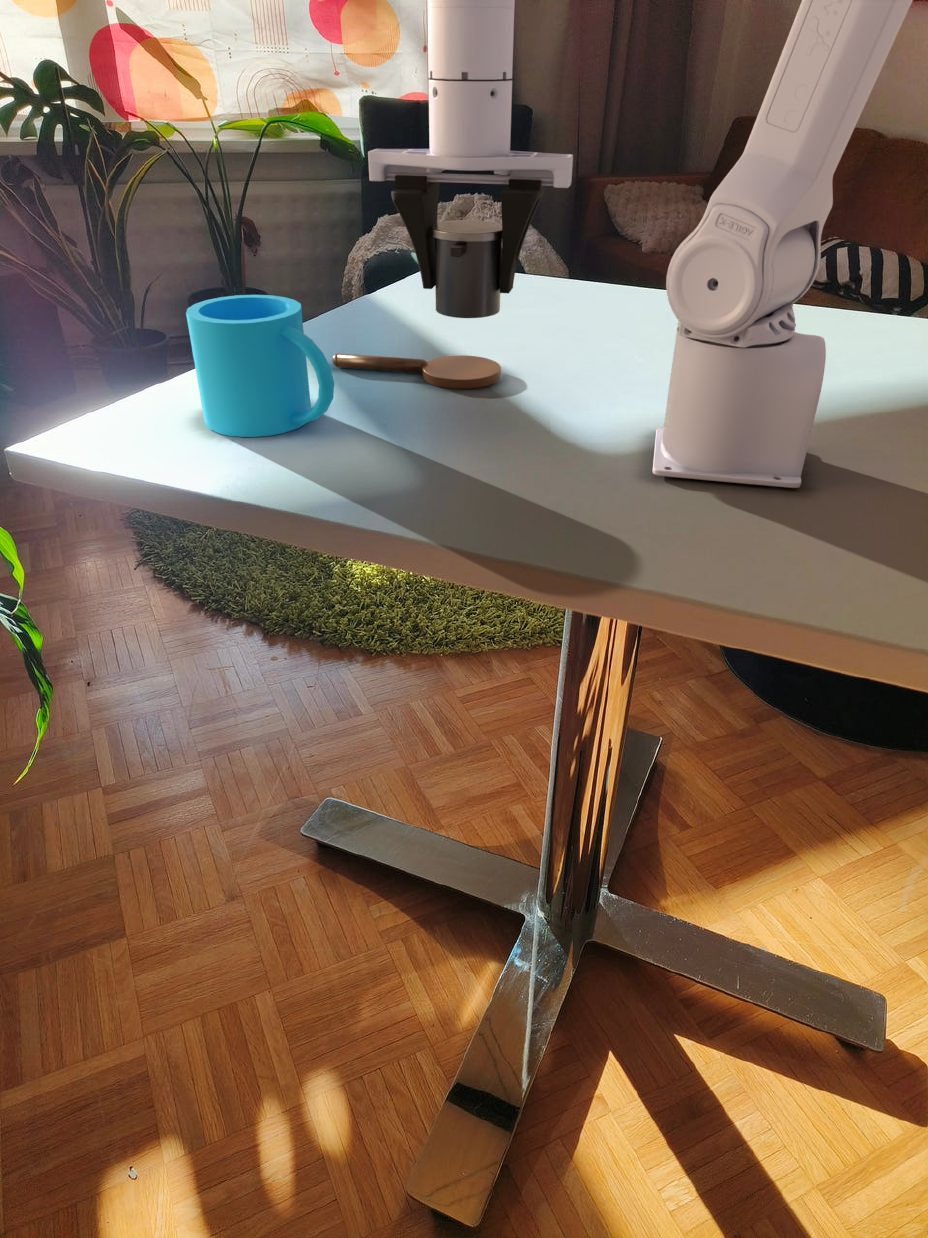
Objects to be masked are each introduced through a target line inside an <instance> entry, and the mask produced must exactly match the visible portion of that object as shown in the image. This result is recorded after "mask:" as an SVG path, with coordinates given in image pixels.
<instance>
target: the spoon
mask: <svg viewBox="0 0 928 1238" xmlns="http://www.w3.org/2000/svg"><path fill="white" fill-rule="evenodd" d="M332 364H333V365H334V366H335V367H336V368H340V369H341V368H342V369H355V370H369V371H381V372H397V373H409V374H422V378H423V380H424V381H425V382H426V383H428V384H431V385H433V386H436V387H440V388H446V389H454V390H459V389H460V390H466V389H467V390H469V389H478V388H484V387H487V386H491V385H493V384H495V383H497V382H499V380H500V379H501V377H502V367H501V365H500V364H499V363H498V362H497V361H496V360H493V359H490V358H487V357H483V356H476V355H466V354H465V355H463V354H462V355H448V356H440V357H437V358H433V359H430V360H428V361H427V360H425V359H423V358H409V357H395V356H382V355H367V354H353V353H341V352H340V353H336V354H334V355H333V356H332Z"/></svg>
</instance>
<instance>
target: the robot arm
mask: <svg viewBox="0 0 928 1238" xmlns="http://www.w3.org/2000/svg"><path fill="white" fill-rule="evenodd" d="M913 1H914V0H801V2H800V4H799V7H798V9H797V11H796V15H795V18H794V20H793V23H792V25H791V28H790V31H789V32H788V33H789V34H788V36H787V38H786V42H785V43H784V46H783V48H782V51H781V54H780V56H779V59H778V62H777V64H776V67H775V69H774V72H773V74H772V77H771V80H770V83H769V85H768V88H767V90H766V93H765V95H764V98H763V100H762V102H761V103H762V104H761V106H760V109H759V111H758V114H757V116H756V119H755V121H754V124H753V127H752V129H751V132H750V134H749V138H748V139H747V142H746V145H745V147H744V150H743V153H741V156H740V157H739V158H738V160H737V161H736V162H735V164H734V165H733V167H732V168H731V169H730V171H729V172H728V173H727V174H726V176H724V178H723V179H722V180H721V182H720V183H719V185H717V187H716V189H715V190H714V191H713V192H712V194H711V196H710V198H709V201H708V203H707V205H706V208H705V212H704V213H703V216H702V218H701V220H700V221H699V222H698V225H697V226H696V227H695V229H693V231H692V232H691V233H689V235H688V236H687V237H686V238H685V239H684V240H682V242H680V244H679V245H678V247H677V248H676V250H675V251H674V252H673V255H672V257H671V259H670V262H669V265H668V268H667V272H666V281H665V290H666V297H667V300H668V301H667V302H668V304H669V306H670V308H671V311H672V313H673V315H674V316H675V318H676V319H677V327H676V333H675V334H676V335H675V341H674V348H673V354H672V355H673V356H672V362H671V372H670V377H669V384H668V385H669V386H668V392H667V399H666V407H665V413H664V422H663V426H662V427H658V428H656V431H655V440H654V451H653V461H652V470H651V471H652V474H653V475H654V476H658V477H666V478H677V479H678V478H679V479H686V480H687V479H689V480H697V481H698V480H700V481H708V482H709V481H711V482H722V483H733V484H734V483H735V484H743V485H744V484H745V485H754V486H767V487H775V488H786V489H787V488H788V489H798V488H800V487H801V485H802V477H801V476H802V473H803V469H804V464H805V460H806V456H807V452H808V447H809V443H810V439H811V435H812V430H813V427H814V423H815V418H816V414H817V410H818V407H819V401H820V397H821V392H822V387H823V381H824V375H825V368H826V360H827V359H826V357H827V347H826V340H825V338H824V337H823V336H820V335H816V334H805V333H799V332H796V327H797V326H796V325H797V323H796V316H795V312H794V308H793V307H794V304H795V303H796V302H797V301H798V300H800V299H802V297H803V296H804V295H805V294H806V293H807V292H808V291H809V289H810V288H811V287H812V286H813V284H814V282H815V280H816V277H817V275H818V273H819V269H820V265H821V258H822V255H821V253H822V251H821V250H822V249H821V244H822V234H823V229H824V226H825V224H826V221H827V219H828V216H829V214H830V212H831V210H832V208H833V204H834V192H833V190H834V189H833V188H834V187H833V185H834V184H833V181H834V180H833V178H834V174H835V172H836V169H837V168H838V165H839V163H840V161H841V159H842V156H843V154H844V152H845V150H846V148H847V146H848V143H849V141H850V139H851V137H852V134H853V132H854V130H855V128H856V125H858V121H859V119H860V117H861V115H862V113H863V111H864V108H865V106H866V104H867V101H868V99H869V97H870V95H871V93H872V91H873V88H874V87H875V84H876V82H877V80H878V78H879V75H880V73H881V71H882V69H883V68H884V67H883V66H884V65H885V62H886V60H887V58H888V56H889V53H890V51H891V49H892V47H893V45H894V42H895V40H896V38H897V36H898V34H899V31H900V29H901V27H902V25H903V23H904V21H905V18H906V16H907V15H908V12H909V9H910V7H911V6H912V3H913ZM426 3H427V56H428V57H427V61H428V63H427V65H428V68H427V69H428V73H427V74H428V126H429V128H428V132H429V133H428V134H429V136H428V137H429V138H428V139H429V148H374V149H371V150H369V151H367V157H368V158H367V159H368V176H369V177H368V178H369V182H385V181H394V187H393V189H392V190H391V191H390V194H391V199H392V203H393V205H394V206H395V208H396V210H397V212H398V214H399V216H400V218H401V220H402V222H403V224H404V227H405V229H406V232H407V233H408V236H409V238H410V241H411V244H412V247H413V250H414V254H415V257H416V260H417V265H418V268H419V273H420V278H421V283H422V289H424V290H432V289H434V288H435V238H434V237H432V236H431V226H432V225H433V224H436V223H438V210H439V199H440V198H439V197H440V186H441V185H440V184H441V183H456V184H485V185H486V184H487V185H508V187H507V188H504V189H503V190H502V191H500V209H501V224H502V254H501V268H500V280H499V282H500V294H510V292H511V291H512V290H513V288H514V281H515V277H516V276H515V275H516V269H517V266H518V262H519V257H520V255H521V250H522V248H523V246H524V245H523V244H524V241H525V238H526V235H527V234H528V230H529V228H530V225H531V224H532V221H533V218H534V216H535V214H536V212H537V210H538V206H539V204H540V202H541V201H542V198H543V196H544V194H545V191H546V189H545V187H553V188H555V189H556V188H557V189H569V187H571V185H572V179H573V178H572V177H573V164H574V154H570V153H550V152H537V151H536V152H535V151H521V150H520V151H519V150H511V134H512V133H511V131H512V104H513V103H512V101H513V69H514V68H513V67H514V66H513V65H514V64H513V63H514V34H515V33H514V32H515V31H514V29H515V8H516V7H515V6H516V5H515V3H516V0H426ZM446 170H447V171H463V172H467V171H468V172H469V171H471V172H475V171H476V172H478V171H479V172H481V171H483V172H484V171H493V174H469V173H442V172H443V171H446Z"/></svg>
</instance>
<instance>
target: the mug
mask: <svg viewBox="0 0 928 1238" xmlns="http://www.w3.org/2000/svg"><path fill="white" fill-rule="evenodd" d="M302 311H303V310H302V304H301V302H299V301H298V300H296V299H292V298H289V297H286V296H279V295H273V294H272V295H271V294H237V295H236V294H235V295H228V296H220V297H217V298H216V297H215V298H211V299H206V300H202V301H200V302H196V303H194V304H192V305H191V306H189V307H188V308H186V312H185V315H186V322H187V326H188V327H187V328H188V333H189V339H190V344H191V350H192V356H193V362H194V368H195V374H196V379H197V380H196V381H197V384H198V385H197V386H198V392H199V397H200V403H201V410H202V416H203V421H204V424H205V426H206V427H207V428H208V430H211V431H213V432H215V433H217V434H220V435H224V436H229V437H239V438H257V437H270V436H276V435H282V434H285V433H288V432H292V431H295V430H296V429H299V428H301V427H302V426H305V425H306V424H308V423H309V422H313V421H316V420H319V418H320V417H322V416H323V415H324V414H325V413H327V412H328V410H329V409H330V406H331V404H332V402H333V399H334V393H335V381H334V376H333V372H332V368H331V366H330V363H329V361H328V360H327V358H326V356H325V354H324V352H323V351H322V350H321V349H320V348H319V346H318V345H317V344H316V342H315V341H314V340H313V339H312V338H310V337H309V336H307V335H306V334H305V332H304V323H303V322H304V321H303V313H302ZM307 358H308V360H309V362H310V365H311V366H312V368H313V370H314V373H315V375H316V379H317V384H318V393H317V394H318V396H317V398H316V401H315V403H314V405H313V406H312V404H311V393H310V384H309V374H308V364H307Z"/></svg>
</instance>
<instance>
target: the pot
mask: <svg viewBox="0 0 928 1238" xmlns="http://www.w3.org/2000/svg"><path fill="white" fill-rule="evenodd" d="M431 236H432V237H434V238H435V286H434V288H435V291H434V292H435V311H436V313H438V314H439V315H442V316H445V317H450V318H456V319H480V318H488V317H491V316H495V315H497V314H499V313H500V311H501V293H500V282H499V280H500V268H501V257H502V223H499V222H495V221H491V220H490V221H488V220H478V219H477V220H476V219H456V220H444V221H440V222H437V223H436V224H433V225H432V226H431Z"/></svg>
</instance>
